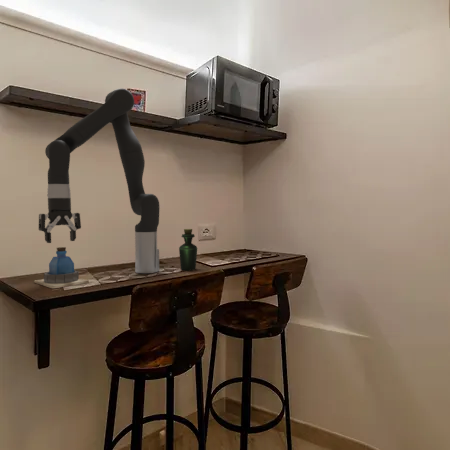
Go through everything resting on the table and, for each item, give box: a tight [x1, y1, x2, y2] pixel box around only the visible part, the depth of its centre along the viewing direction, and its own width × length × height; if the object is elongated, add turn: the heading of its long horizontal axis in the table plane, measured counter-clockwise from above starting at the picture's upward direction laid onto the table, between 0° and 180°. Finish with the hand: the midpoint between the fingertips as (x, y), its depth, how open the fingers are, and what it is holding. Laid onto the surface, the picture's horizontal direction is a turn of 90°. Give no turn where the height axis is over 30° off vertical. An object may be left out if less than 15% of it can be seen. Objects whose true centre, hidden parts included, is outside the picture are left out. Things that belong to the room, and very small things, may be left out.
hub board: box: [33, 269, 90, 289], centre depth 130 cm, size 13×15×4 cm
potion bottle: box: [178, 228, 198, 272], centre depth 158 cm, size 8×8×18 cm
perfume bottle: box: [48, 246, 75, 275], centre depth 129 cm, size 6×6×12 cm
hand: (61, 241), depth 129 cm, fingers open, 8 cm apart
